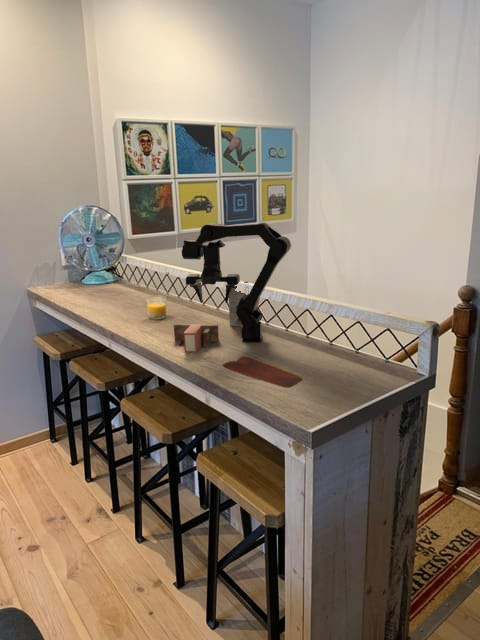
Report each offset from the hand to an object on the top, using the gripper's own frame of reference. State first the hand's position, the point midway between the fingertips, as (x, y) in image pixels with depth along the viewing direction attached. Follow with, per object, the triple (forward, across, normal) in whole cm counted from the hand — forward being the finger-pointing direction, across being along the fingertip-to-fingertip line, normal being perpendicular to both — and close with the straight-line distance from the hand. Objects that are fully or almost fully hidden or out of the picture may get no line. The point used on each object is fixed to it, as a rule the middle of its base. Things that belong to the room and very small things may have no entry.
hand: (213, 302), depth 177 cm
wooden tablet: (+14, +21, -32) cm, 41 cm away
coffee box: (+13, +6, +18) cm, 23 cm away
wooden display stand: (+13, -6, -7) cm, 16 cm away
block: (+13, -5, -12) cm, 18 cm away
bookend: (+13, -9, -8) cm, 18 cm away
